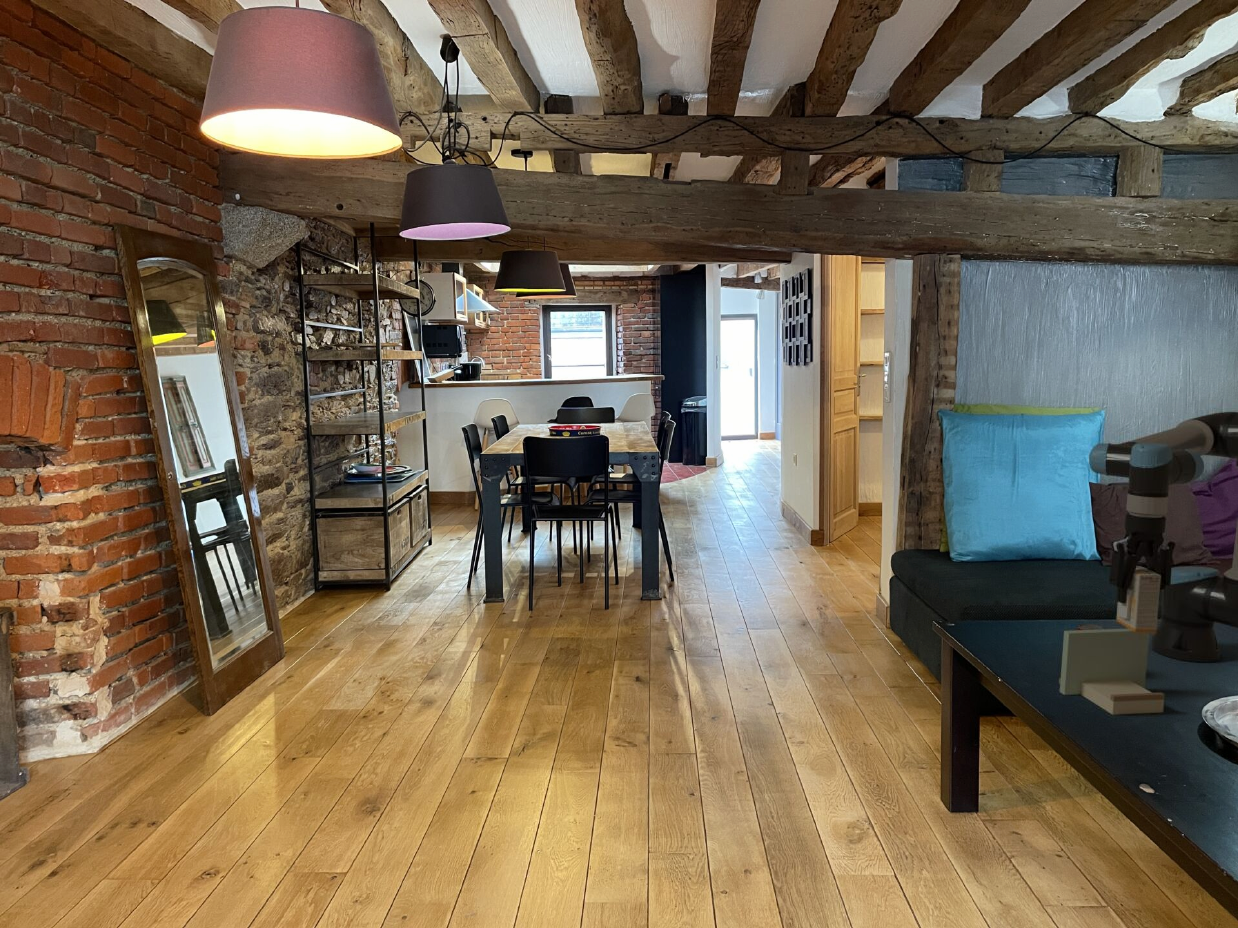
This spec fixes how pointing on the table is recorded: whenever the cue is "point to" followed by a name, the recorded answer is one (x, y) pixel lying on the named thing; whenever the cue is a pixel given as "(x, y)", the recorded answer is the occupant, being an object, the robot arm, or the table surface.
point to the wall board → (1109, 670)
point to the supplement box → (1143, 601)
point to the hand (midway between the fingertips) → (1136, 616)
